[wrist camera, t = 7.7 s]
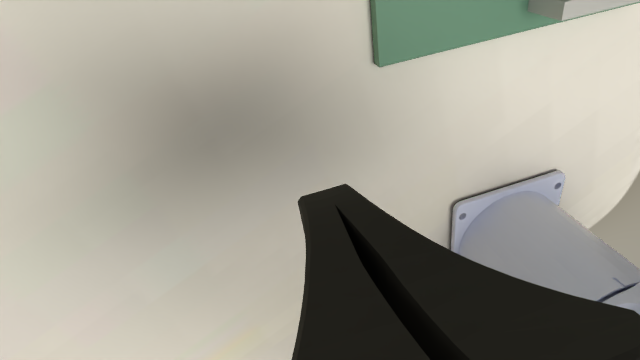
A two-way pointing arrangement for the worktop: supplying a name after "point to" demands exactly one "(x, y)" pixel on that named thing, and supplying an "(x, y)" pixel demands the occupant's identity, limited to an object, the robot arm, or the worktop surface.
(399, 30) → the header board
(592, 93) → the worktop surface
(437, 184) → the worktop surface
